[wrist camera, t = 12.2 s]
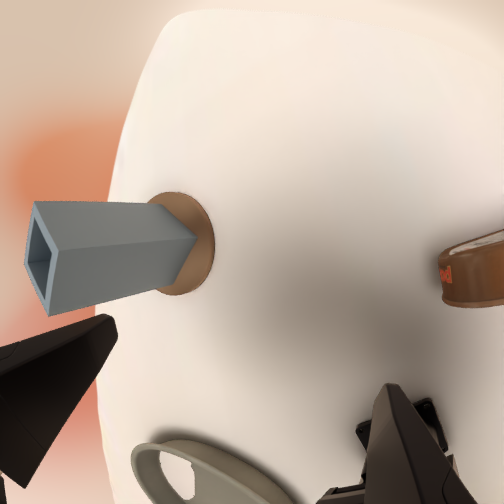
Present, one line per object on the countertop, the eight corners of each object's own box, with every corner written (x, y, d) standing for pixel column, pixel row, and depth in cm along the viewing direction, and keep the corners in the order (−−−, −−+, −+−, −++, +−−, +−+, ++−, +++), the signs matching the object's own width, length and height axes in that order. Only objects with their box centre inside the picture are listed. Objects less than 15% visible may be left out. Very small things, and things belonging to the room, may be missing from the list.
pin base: (233, 263, 22) (190, 273, 18) (165, 308, 26) (123, 323, 22) (184, 171, 24) (138, 163, 19) (129, 229, 28) (86, 231, 23)
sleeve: (198, 237, 23) (58, 250, 12) (173, 284, 24) (48, 316, 14) (161, 203, 24) (33, 201, 14) (140, 249, 26) (23, 264, 15)
